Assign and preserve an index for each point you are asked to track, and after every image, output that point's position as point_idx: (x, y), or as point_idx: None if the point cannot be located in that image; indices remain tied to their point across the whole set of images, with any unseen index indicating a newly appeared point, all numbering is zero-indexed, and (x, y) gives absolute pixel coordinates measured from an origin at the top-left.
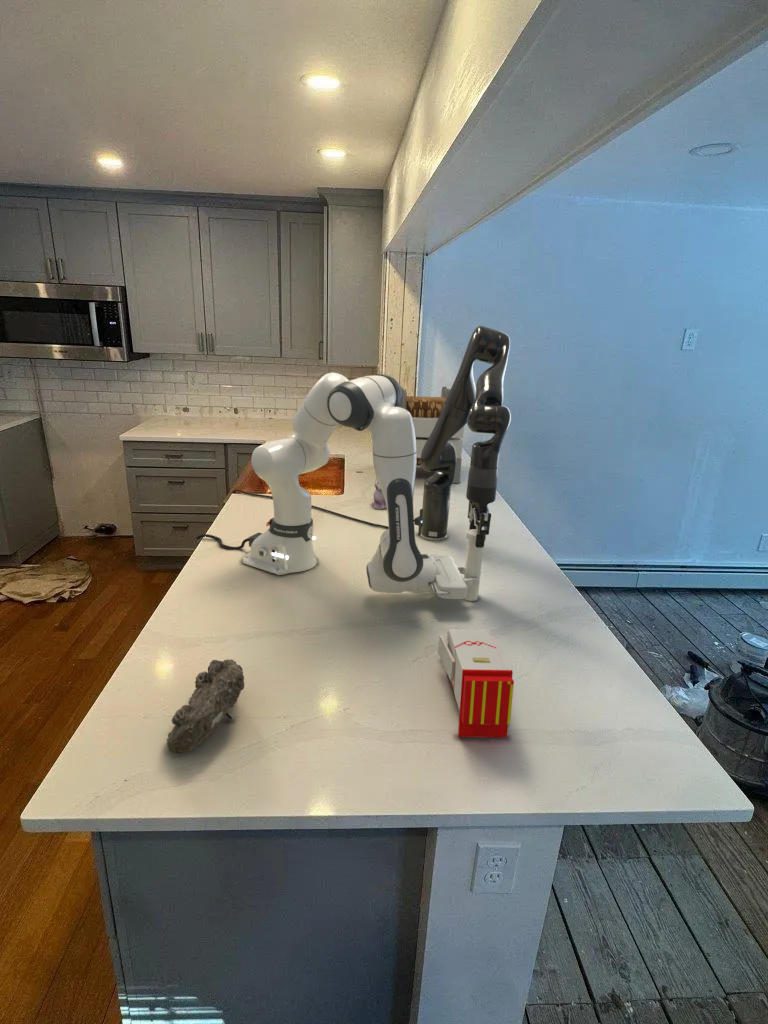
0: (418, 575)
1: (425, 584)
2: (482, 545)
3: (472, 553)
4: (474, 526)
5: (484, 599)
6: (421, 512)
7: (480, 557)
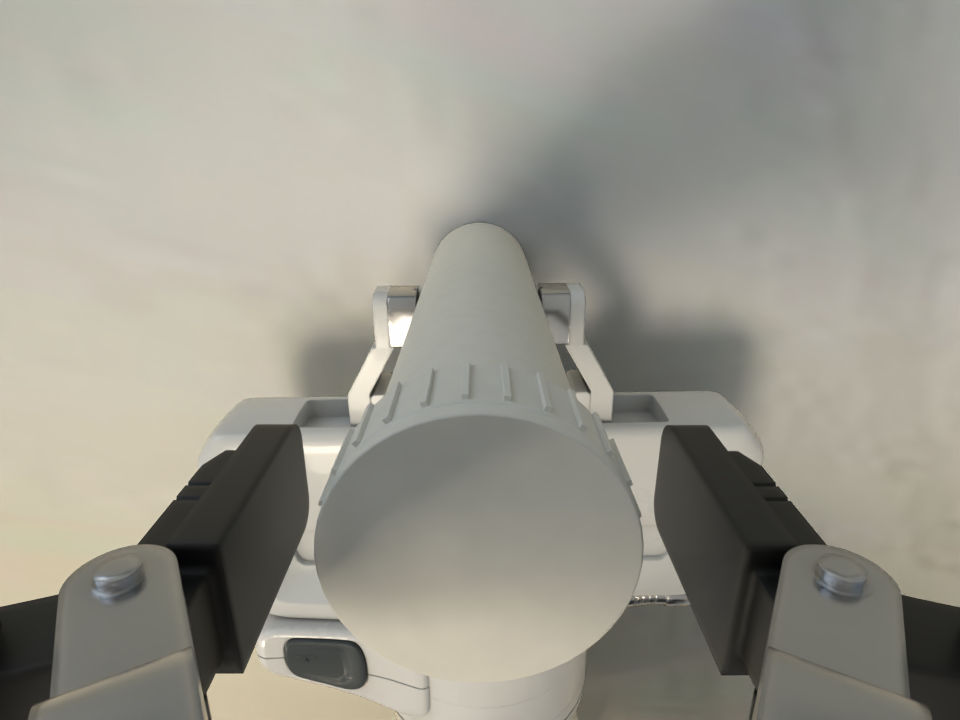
0: (578, 698)
1: None
2: (745, 469)
3: None
4: (249, 577)
5: (508, 182)
6: None
7: (550, 340)
